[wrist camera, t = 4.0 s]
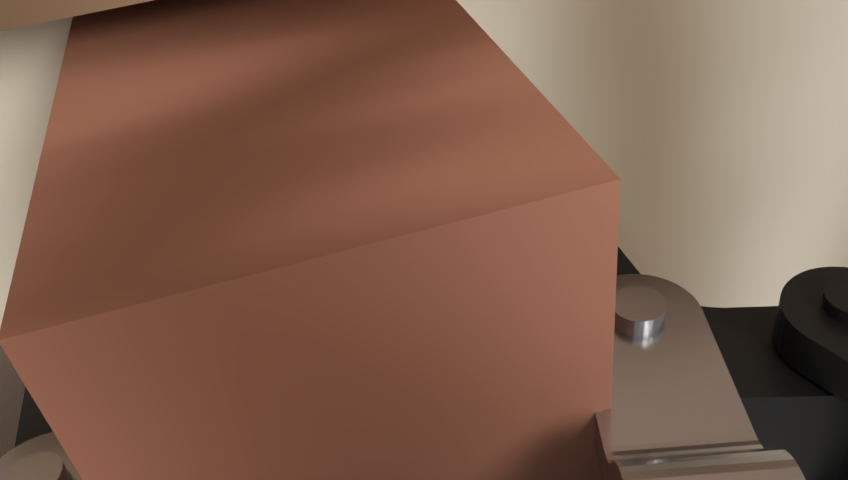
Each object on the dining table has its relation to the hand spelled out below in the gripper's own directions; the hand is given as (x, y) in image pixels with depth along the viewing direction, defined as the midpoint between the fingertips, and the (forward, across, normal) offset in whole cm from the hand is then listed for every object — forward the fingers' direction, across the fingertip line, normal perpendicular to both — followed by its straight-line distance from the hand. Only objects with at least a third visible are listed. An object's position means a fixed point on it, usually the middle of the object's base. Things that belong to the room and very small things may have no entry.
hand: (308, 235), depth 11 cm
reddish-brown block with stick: (+1, 0, +2) cm, 3 cm away
